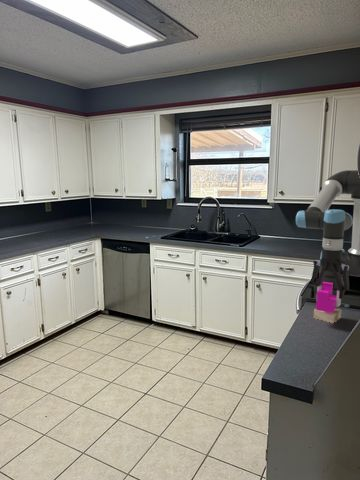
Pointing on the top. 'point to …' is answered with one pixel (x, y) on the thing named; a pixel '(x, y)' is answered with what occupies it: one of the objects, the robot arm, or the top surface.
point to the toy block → (326, 298)
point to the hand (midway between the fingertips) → (328, 303)
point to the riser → (328, 315)
